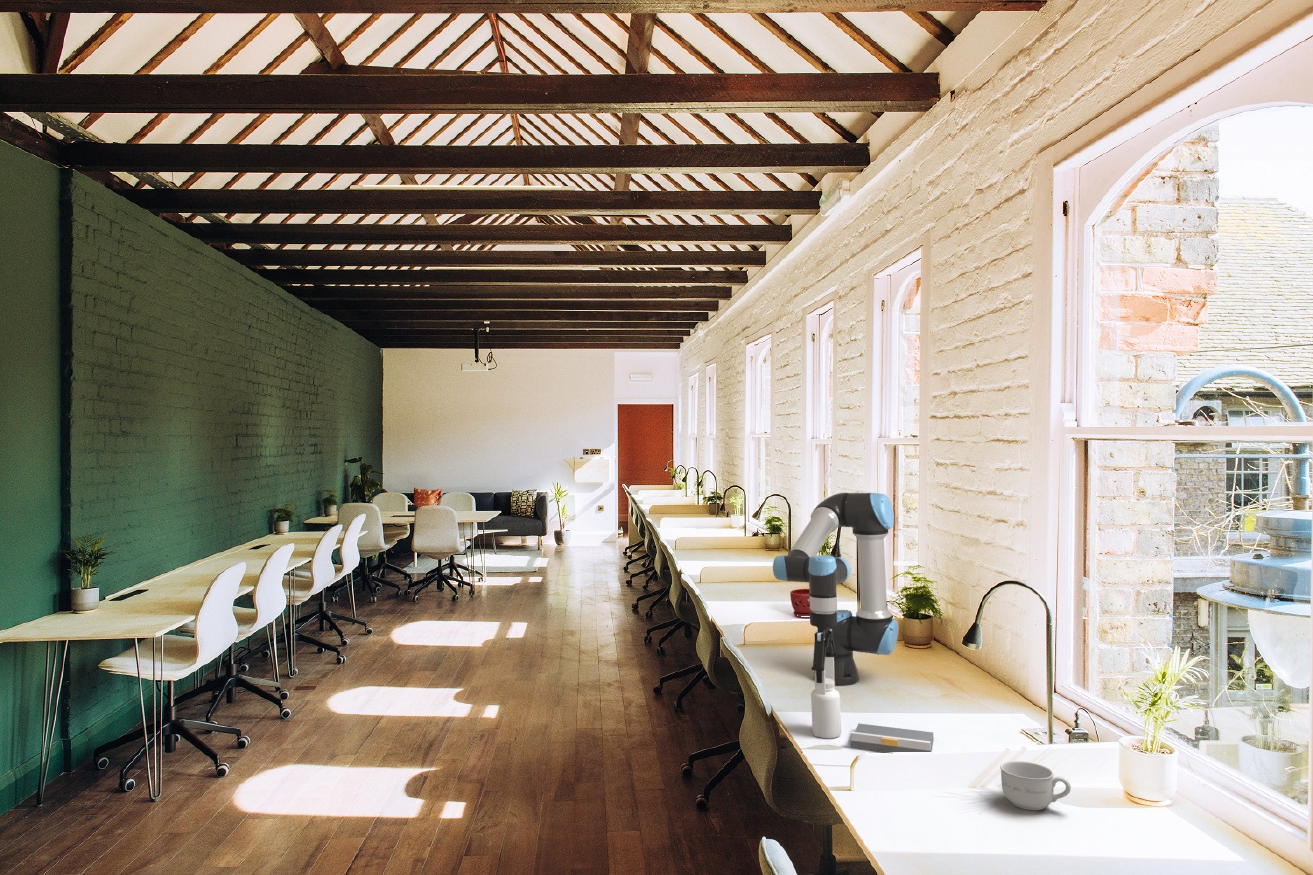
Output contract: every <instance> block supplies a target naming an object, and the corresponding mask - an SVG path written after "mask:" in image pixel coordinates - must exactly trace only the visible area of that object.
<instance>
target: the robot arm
mask: <svg viewBox="0 0 1313 875" xmlns="http://www.w3.org/2000/svg"><path fill="white" fill-rule="evenodd" d="M894 519H895V514H894V508H893V505H892V501H891V500H890V498H889V497H888V495H887V494H885V493H878V492H877V493H876V492H840V493H835V494H833V495H831V496H828V497H827V498H826V499H824V500H823V501H821V502H820V503H818V504H817V505H816V507H815V508H814V509H813V510H812V512H811V514H810V520H809V522H808V524H807V525H806V527H805V528H804V529H803V531H802V533H801V534H800V535H799V537H798V538H797V540H796V542H795V543H794V544H793V546H792V547H791V549H790V551H789V552H788V553H787V554H786V555H784V554H783V555H777V556H776V557H774V559H773V562H772V573H773V576H774V578H775V579H777V580H779V581H786V582H796V583H799V582H800V583H808V586H809V588H808V589H809V592H810V593H809V595H810V598H809V599H808V602H810V610H812V611H811V612H810V618H809V624H810V625H811V626H813V627H816V628H817V631H816V632H814V647H813V661H812V666H811V668H810V669H811V671H813V679H814V689H815V694H820V695H825V678H829V679H833V680H834V681H835V686H849V685H854V684H856V683H858V682H859V680H860V678H859V677H860V675H859V669H858V668H857V664H856V662H855V659H854V652H858V653H865V654H874V655H877V656H879V655H881V656H883V655H884V656H889V655H891V654H893V652H894V650H895V648H896V645H897V643H898V642H897V641H898V637H899V622H898V620H896V619H893V613H892V612H891V611H890V610H889V609H888V606H887V605H888V602H887V600H888V599H887V585H886V584H887V582H886V580H887V579H886V577H887V576H886V557H885V556H886V555H885V537H887V536H888V534H889V530H890V529H892V528H893V527H894V523H895V522H894ZM842 527H843V528H852V535H854V536H855V538H856V540H857V552H858V553H857V559H858V579H859V581H858V582H859V599H860V600H859V602H860V607H859V609H858V610H857V611H856V613H855V615H853V612H852V610H849V609H838V603H837V602H838V596H837V586H838V585H840V584H843V583H844V582H846V580H848V578H849V577H850V576H851V566H850V563H849V562H848V561H847V560H846V559H845V558H843V557H840V556H839V557H836V556H833V555H829V554H828V555H827V554H826V555H825V554H822V555H821V554H820V555H819V552H820V550H821V548H823V546H824V544H825V542H826V540H827V539H828V537H830V534H831V533H832V532H835V531H836V530H837V529H838V528H842Z"/></svg>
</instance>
